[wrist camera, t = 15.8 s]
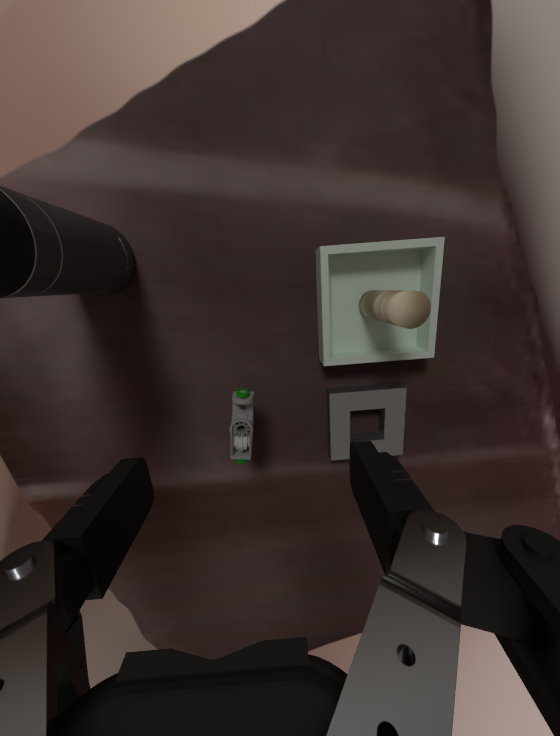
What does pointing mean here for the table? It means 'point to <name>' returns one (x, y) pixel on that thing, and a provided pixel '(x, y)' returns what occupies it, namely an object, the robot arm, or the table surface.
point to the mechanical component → (242, 425)
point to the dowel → (396, 307)
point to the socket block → (365, 398)
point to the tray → (375, 272)
